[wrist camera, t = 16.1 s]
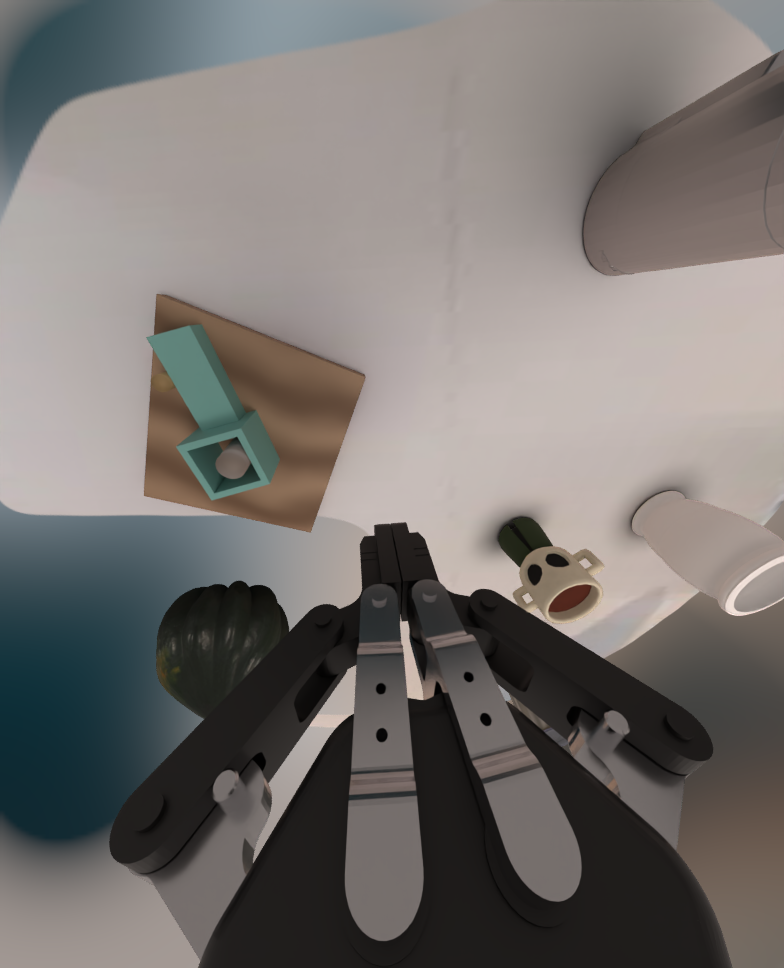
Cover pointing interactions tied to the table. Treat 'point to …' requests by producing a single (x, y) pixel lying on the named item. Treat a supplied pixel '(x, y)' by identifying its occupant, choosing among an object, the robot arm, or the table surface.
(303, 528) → the base
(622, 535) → the table surface
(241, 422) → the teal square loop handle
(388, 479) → the table surface
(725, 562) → the jar
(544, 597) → the character mug
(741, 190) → the robot arm
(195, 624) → the squash
